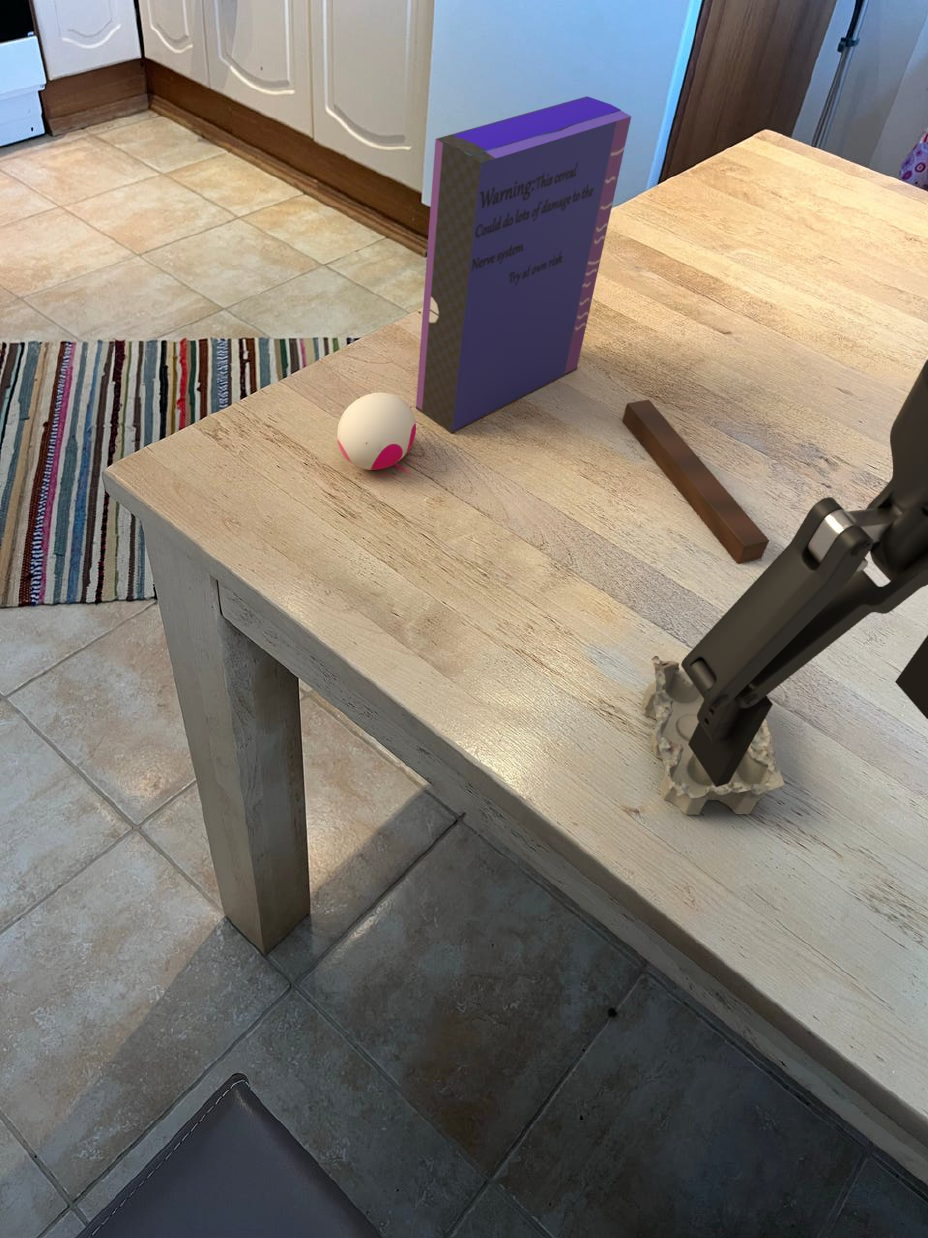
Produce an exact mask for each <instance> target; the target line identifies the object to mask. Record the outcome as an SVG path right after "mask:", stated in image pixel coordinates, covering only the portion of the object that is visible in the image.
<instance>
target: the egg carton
mask: <svg viewBox="0 0 928 1238" xmlns="http://www.w3.org/2000/svg"><path fill="white" fill-rule="evenodd" d="M650 660H651V661H652V666H653V667H654V678H655V681H654V682H652V683H651V684H650V685H648V686H647V687H646V689H645V691H644V693H643V699H642V702H641V711H642V714H643V715H644V716H646V717H650V718H651V719H654V720H655V728H654V731H653V734H652V737H651V739H650V742H649V745H650V747H651V748H652V751H653V752H652V753H653V756H654V757H655V758H657V759H661V760H662V762H663V767H664V771H665V772H666V773H665V775H664V777H663V780H662V781H661V783H660V785H659V788H660V795H661V797H662V799H663V800H666V801H668V802H671V803H673V804H674V805H675V806H677V807H678V808H679V810H680V811H681V812H682V813H683V814H685V815H695V816H698V815H700V813H701V812H702V809H703V807H704V806H705V804H706V802H707V801H719V802H720V803H722V804H725V805H726V806H728V807H729V808H730V809H731V810H732V812H733V813H734V814H736V815H748V814H751V812H753V809H754V807H755V806H756V804H757V803H758V801H760V800H762V799H763V798H764V796H765V795H766V793H767V792H769V791H772V790H775V789H777V788H780V787H783V786H784V784H785V781H784V779H783V777H782V773H781V770H780V767H779V766H778V765H777V763H776V762H777V761H776V758H775V755H776V752H775V751H774V750H773V736H772V733H771V732H770V729H769V726H768V722H767V716H766V717H765V719H764V721H763V723H762V725H761V726H760V728H759V730H758V732H757V734H756V735H755V737H754V739H753V741H752V743H751V744H750V746H749V748H748V750H747V751H746V753H745V755H744V757H743V759H742V760H741V762H740V764H739V766H738V768H737V769H736V771H735V773H734V775H733V777H732V778H731V780H730V782H729V783H728V784H725V785H722V786H719V787H715V785H714V783H713V782H712V780H711V779H710V777H709V776H708V774H707V773H706V771H705V770H704V768H703V767H702V765H701V763H700V762H699V760H698V759H697V757H696V756H695V754H694V753H693V751H692V750H691V748H690V747H689V745H688V743H689V741H690V739H691V737H692V735H693V733H694V731H695V729H696V726H697V724H698V722H699V721H698V720H697V713H698V711H699V709H700V708H701V705H702V703H703V701H704V698H703V697H702V696H701V694H700V693H699V691H698V690H697V688H696V687H695V685H694V684H693V682H692V681H691V680H690V678H689V677H688V675H687V674H686V672H685V671H684V669H680V663H679V662H677V661H674V660H660V656H657V655H655V656H653V657H652V658H651V659H650Z"/></svg>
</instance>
